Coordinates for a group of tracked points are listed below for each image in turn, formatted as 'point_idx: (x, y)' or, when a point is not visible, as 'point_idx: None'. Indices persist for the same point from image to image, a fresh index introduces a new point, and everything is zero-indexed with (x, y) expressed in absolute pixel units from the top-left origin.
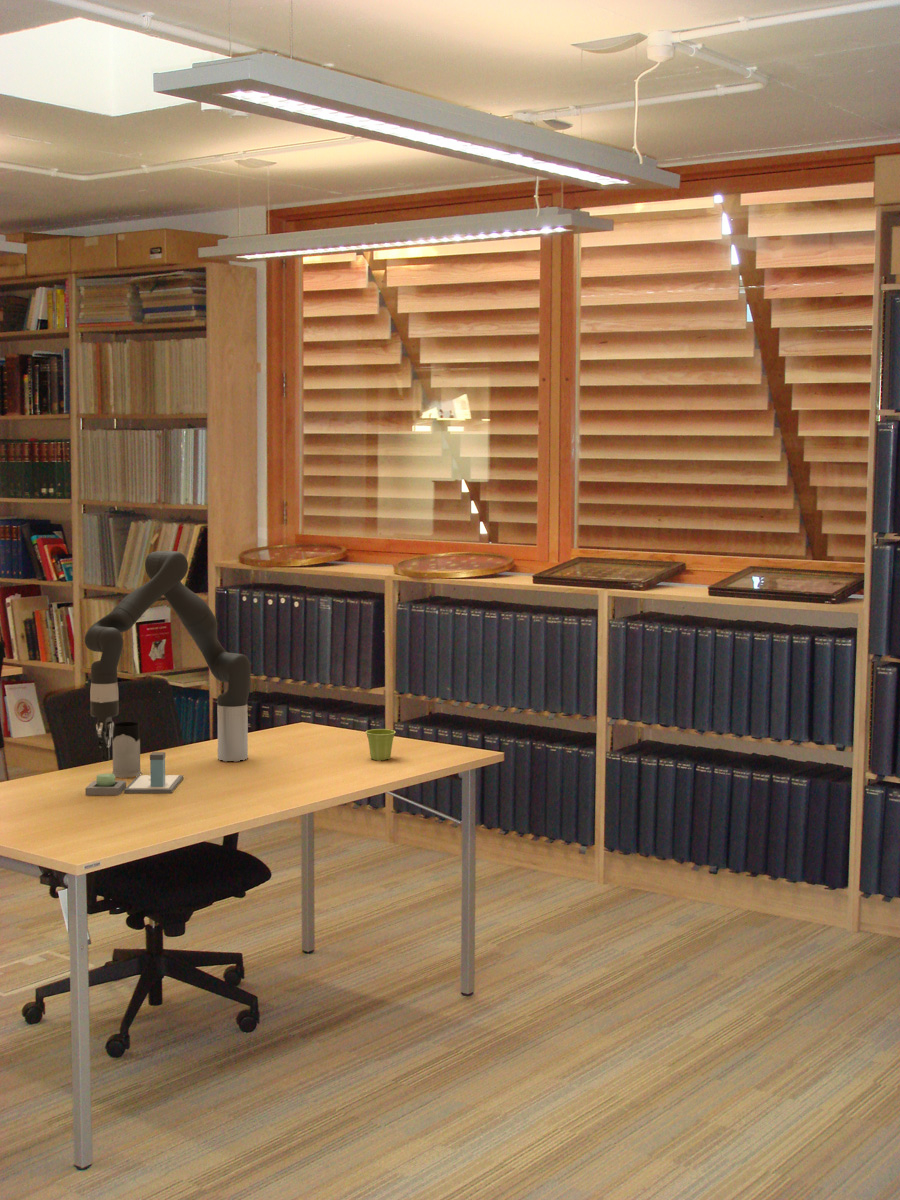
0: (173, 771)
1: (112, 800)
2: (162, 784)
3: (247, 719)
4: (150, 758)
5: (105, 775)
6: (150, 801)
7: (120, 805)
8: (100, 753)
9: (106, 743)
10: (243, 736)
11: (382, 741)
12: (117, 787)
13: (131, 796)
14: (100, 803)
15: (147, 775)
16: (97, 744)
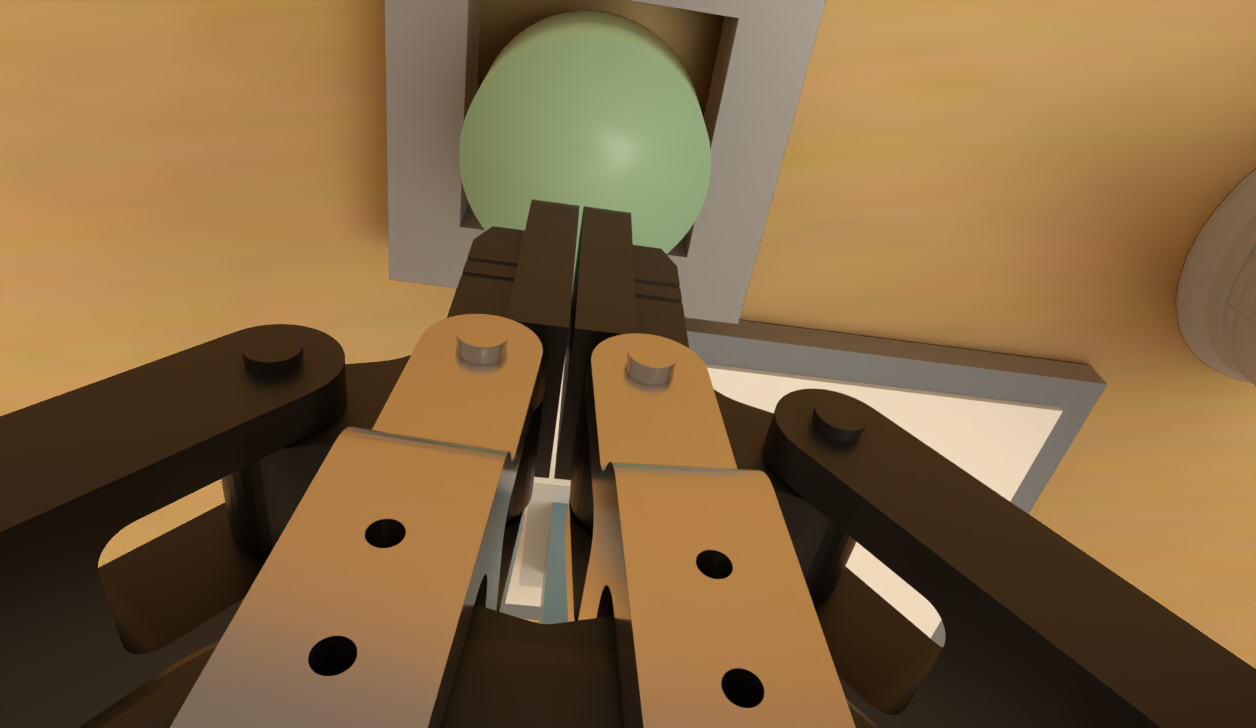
0: (1219, 577)
1: (190, 204)
2: (542, 586)
3: None
4: None
5: (587, 166)
6: (205, 489)
7: (6, 289)
8: (523, 253)
9: (218, 570)
10: None
11: None
12: (420, 268)
13: (369, 353)
14: (32, 93)
15: (1024, 458)
16: (161, 361)
